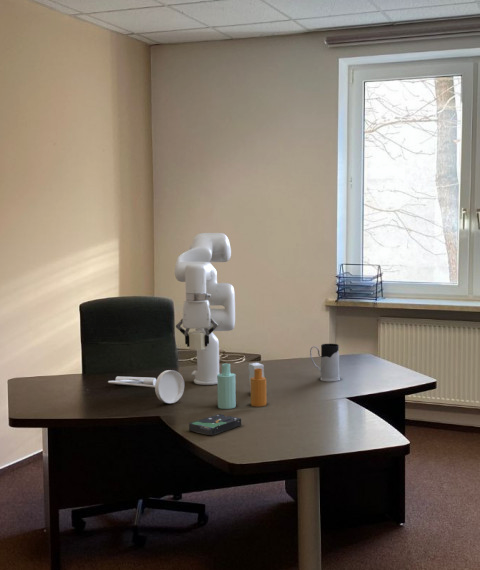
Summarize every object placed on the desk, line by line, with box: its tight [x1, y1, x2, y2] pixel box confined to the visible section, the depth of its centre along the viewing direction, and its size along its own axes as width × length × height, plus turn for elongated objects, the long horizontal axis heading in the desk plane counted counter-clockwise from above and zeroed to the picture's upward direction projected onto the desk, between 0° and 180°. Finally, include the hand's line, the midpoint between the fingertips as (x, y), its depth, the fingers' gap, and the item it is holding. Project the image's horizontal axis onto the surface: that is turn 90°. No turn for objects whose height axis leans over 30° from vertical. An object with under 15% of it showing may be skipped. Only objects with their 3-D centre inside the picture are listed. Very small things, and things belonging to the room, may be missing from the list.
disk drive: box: [188, 413, 242, 436], centre depth 245 cm, size 10×3×15 cm
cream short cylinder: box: [188, 330, 205, 351], centre depth 271 cm, size 6×6×6 cm
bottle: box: [216, 363, 237, 410], centre depth 274 cm, size 7×7×16 cm
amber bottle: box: [249, 368, 267, 408], centre depth 276 cm, size 6×6×14 cm
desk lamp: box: [107, 369, 185, 404], centre depth 298 cm, size 12×22×45 cm
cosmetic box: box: [248, 362, 265, 394], centre depth 293 cm, size 6×4×12 cm
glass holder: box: [309, 343, 341, 382], centre depth 321 cm, size 9×14×15 cm, turn 58°
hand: (197, 345), depth 272 cm, fingers closed on cream short cylinder, 6 cm apart
